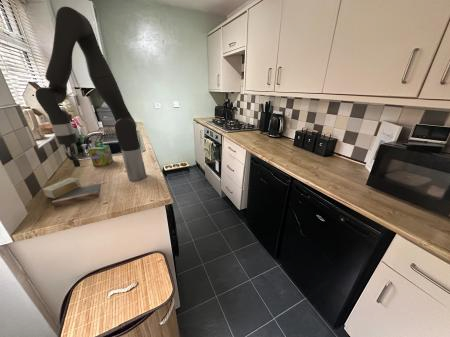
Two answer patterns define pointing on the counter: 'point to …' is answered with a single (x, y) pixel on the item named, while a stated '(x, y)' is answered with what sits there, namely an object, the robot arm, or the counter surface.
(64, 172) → the counter surface
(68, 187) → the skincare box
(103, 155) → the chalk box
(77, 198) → the rail
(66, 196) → the mat
